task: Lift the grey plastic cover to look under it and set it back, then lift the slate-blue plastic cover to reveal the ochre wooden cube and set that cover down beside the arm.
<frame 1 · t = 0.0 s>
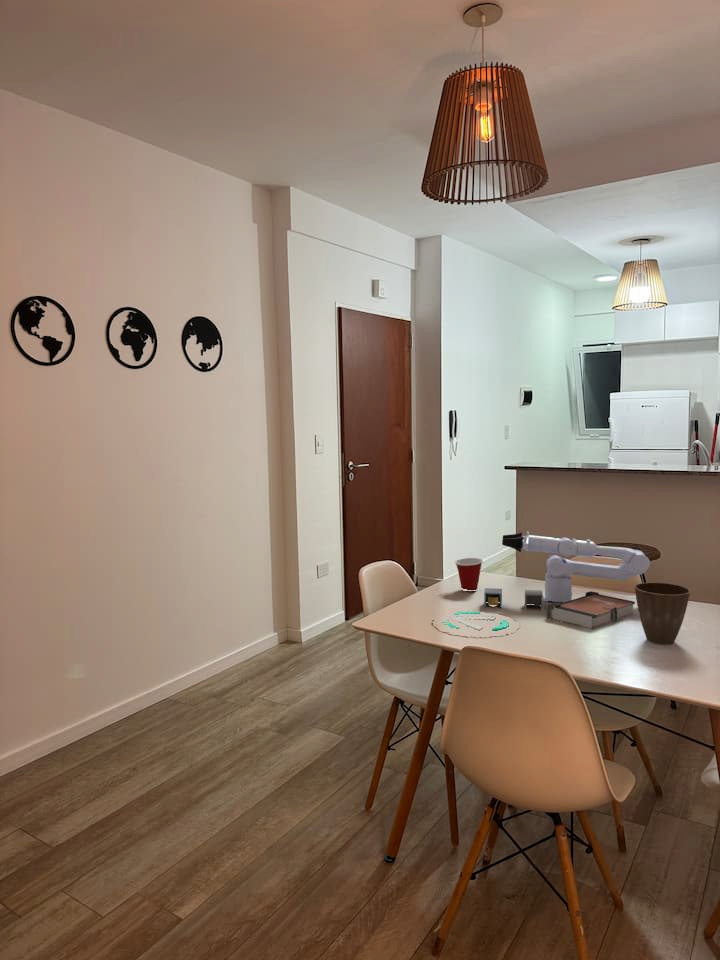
hand: (502, 539, 251), 22 cm above the table, tool horizontal, fingers open, 7 cm apart
plant pot: (660, 641, 202), on the table
plastic cup: (468, 591, 264), on the table
cover a: (533, 607, 239), on the table
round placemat: (475, 626, 221), on the table
cover b: (493, 605, 242), on the table
book: (592, 617, 228), on the table
cube: (493, 601, 242), in the cover b
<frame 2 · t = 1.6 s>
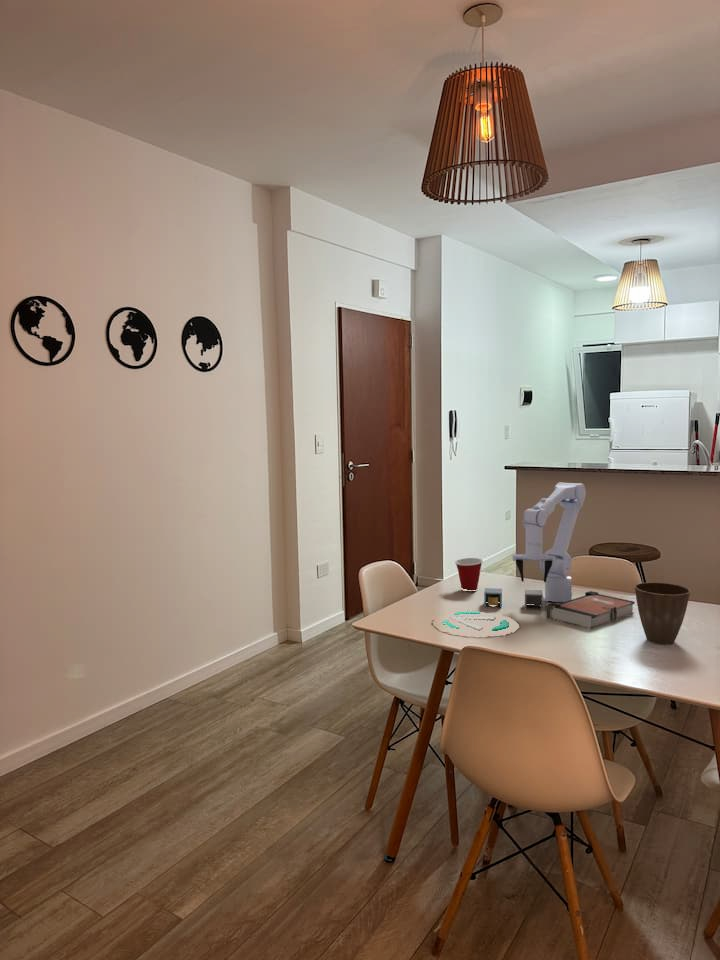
hand: (533, 581, 238), 9 cm above the table, tool pointing down, fingers open, 7 cm apart
nothing on the table moved.
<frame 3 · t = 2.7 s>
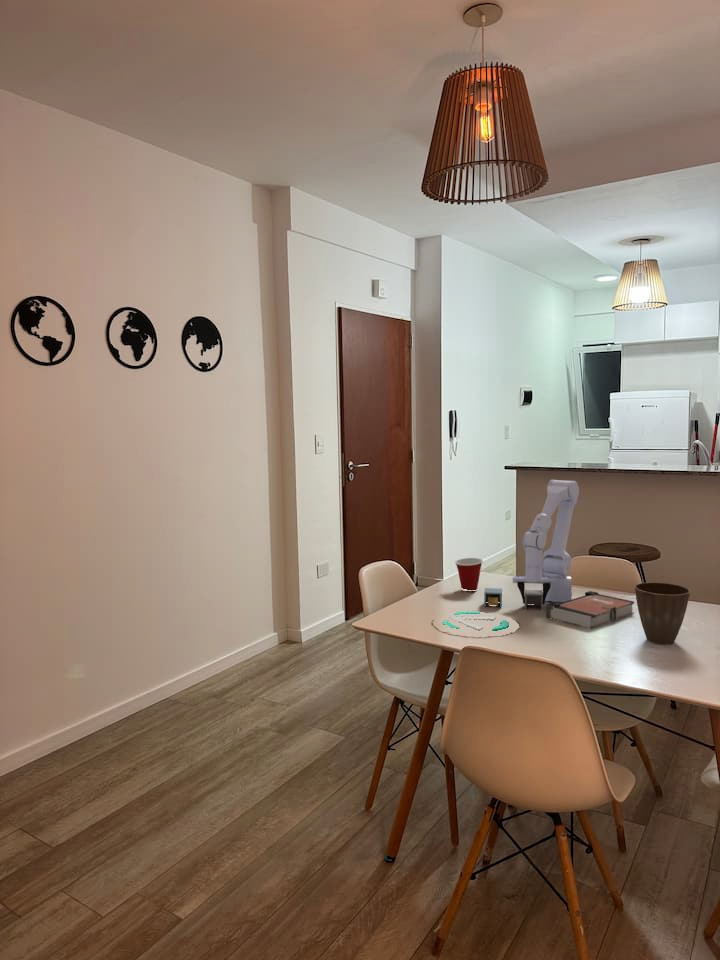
hand: (533, 603, 239), 1 cm above the table, tool pointing down, fingers closed on cover a, 6 cm apart
cover a: (533, 607, 239), on the table, touching gripper
everything else where it was.
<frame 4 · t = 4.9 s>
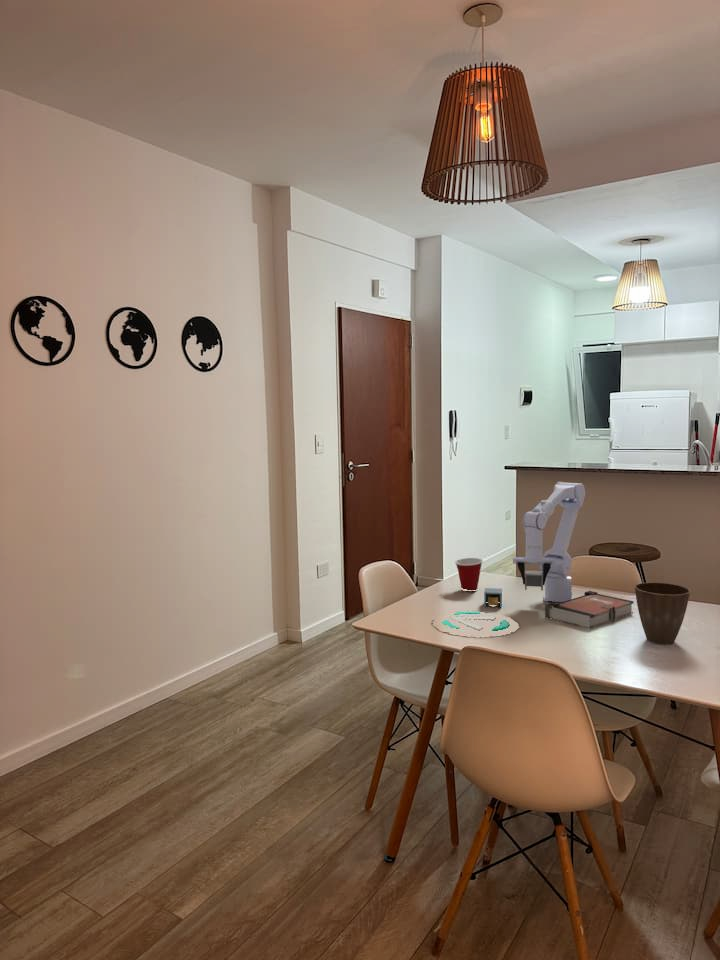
hand: (533, 584, 238), 8 cm above the table, tool pointing down, fingers closed on cover a, 6 cm apart
cover a: (533, 588, 238), point 7 cm above the table, touching gripper
everything else where it was.
when the fingers open (2 cm above the table, at t = 6.9 s): cover a stays where it is, on the table.
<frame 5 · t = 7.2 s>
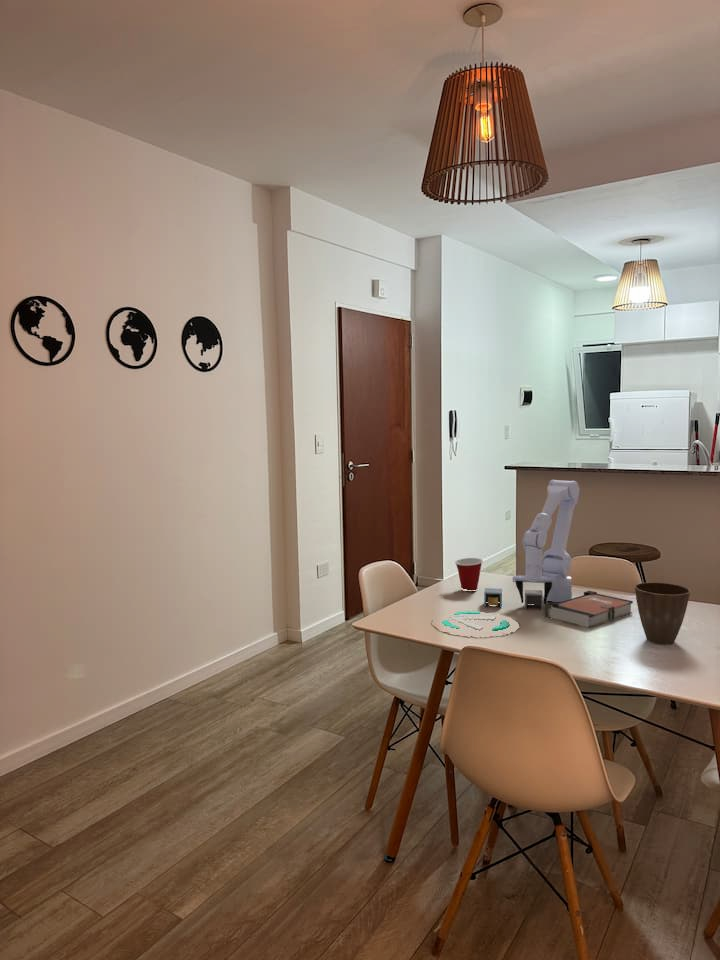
hand: (533, 602, 239), 2 cm above the table, tool pointing down, fingers open, 7 cm apart
cover a: (533, 607, 239), on the table
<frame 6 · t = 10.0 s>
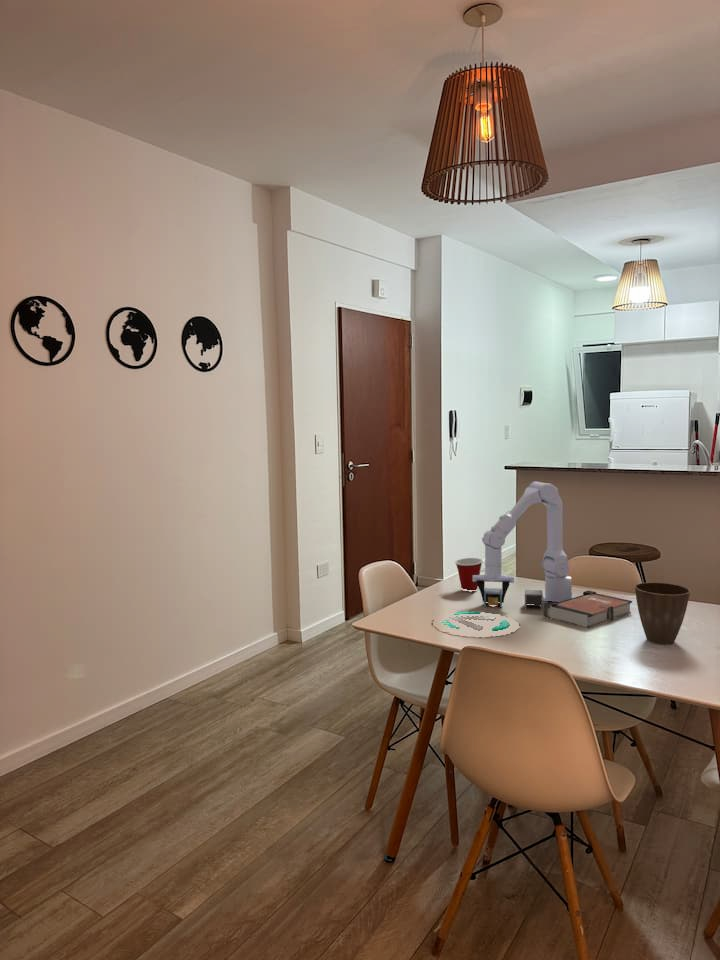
hand: (493, 601, 242), 1 cm above the table, tool pointing down, fingers closed on cover b, 6 cm apart
cover b: (493, 605, 242), on the table, touching gripper
when the fingers open (2 cm above the table, at t = 15.0 s): cover b stays where it is, on the table.
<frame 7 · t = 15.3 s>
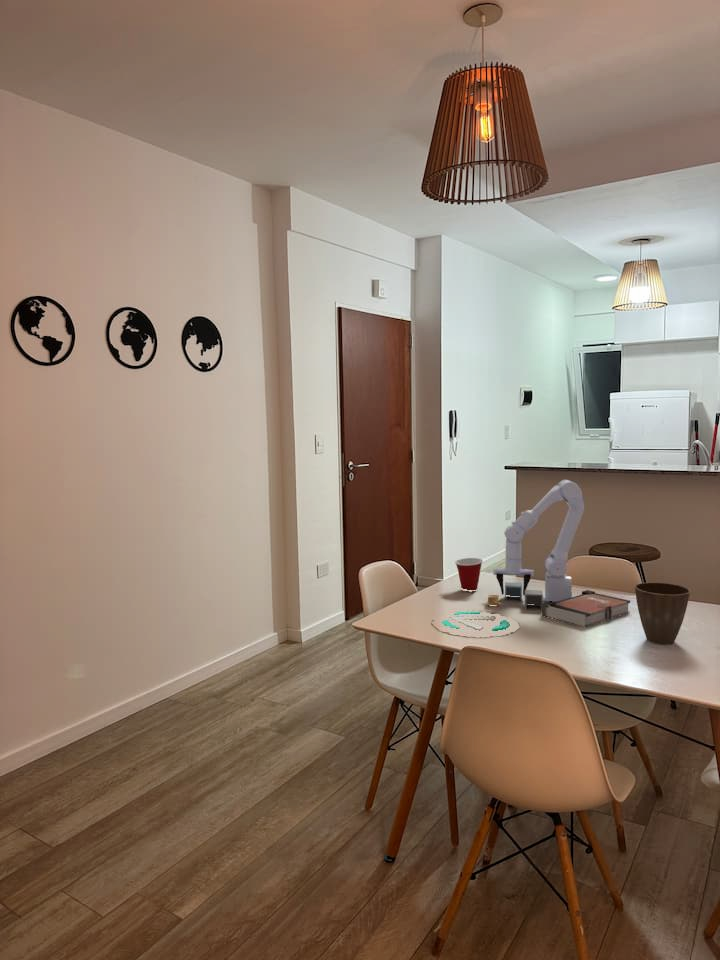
hand: (513, 594, 250), 2 cm above the table, tool pointing down, fingers open, 7 cm apart
cover b: (513, 599, 250), on the table
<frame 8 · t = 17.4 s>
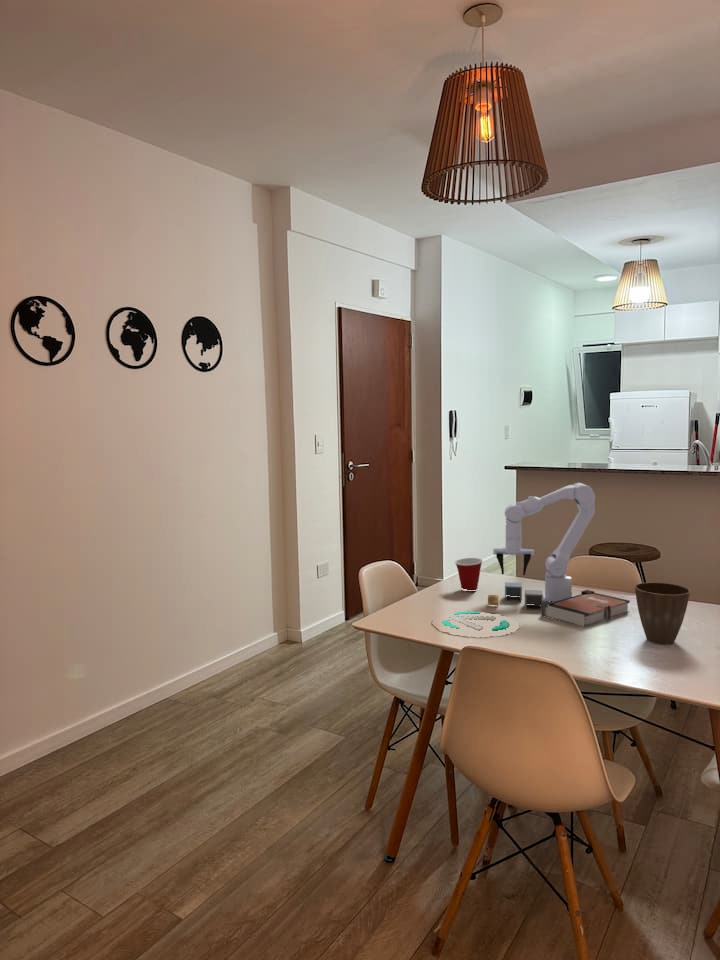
hand: (513, 574, 249), 9 cm above the table, tool pointing down, fingers open, 7 cm apart
at the end: cover b inside the target area (0.0 cm from its centre), on the table; cube moved 0.1 cm from its start; cover a moved 0.0 cm from its start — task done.
